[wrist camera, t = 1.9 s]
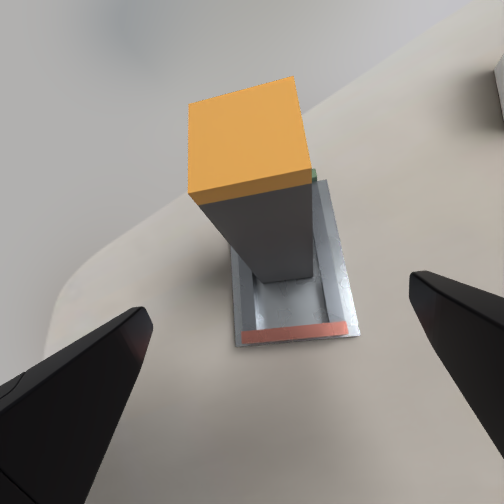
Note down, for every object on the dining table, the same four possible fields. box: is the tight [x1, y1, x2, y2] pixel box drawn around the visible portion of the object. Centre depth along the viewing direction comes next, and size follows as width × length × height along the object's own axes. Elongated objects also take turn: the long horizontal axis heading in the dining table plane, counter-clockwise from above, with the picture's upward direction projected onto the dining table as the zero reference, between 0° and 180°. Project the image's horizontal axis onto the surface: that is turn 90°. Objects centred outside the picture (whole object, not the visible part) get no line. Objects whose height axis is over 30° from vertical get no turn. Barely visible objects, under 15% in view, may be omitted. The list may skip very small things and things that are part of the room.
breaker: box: [188, 76, 313, 283], centre depth 15 cm, size 4×4×13 cm
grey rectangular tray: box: [230, 169, 360, 347], centre depth 21 cm, size 13×9×3 cm
